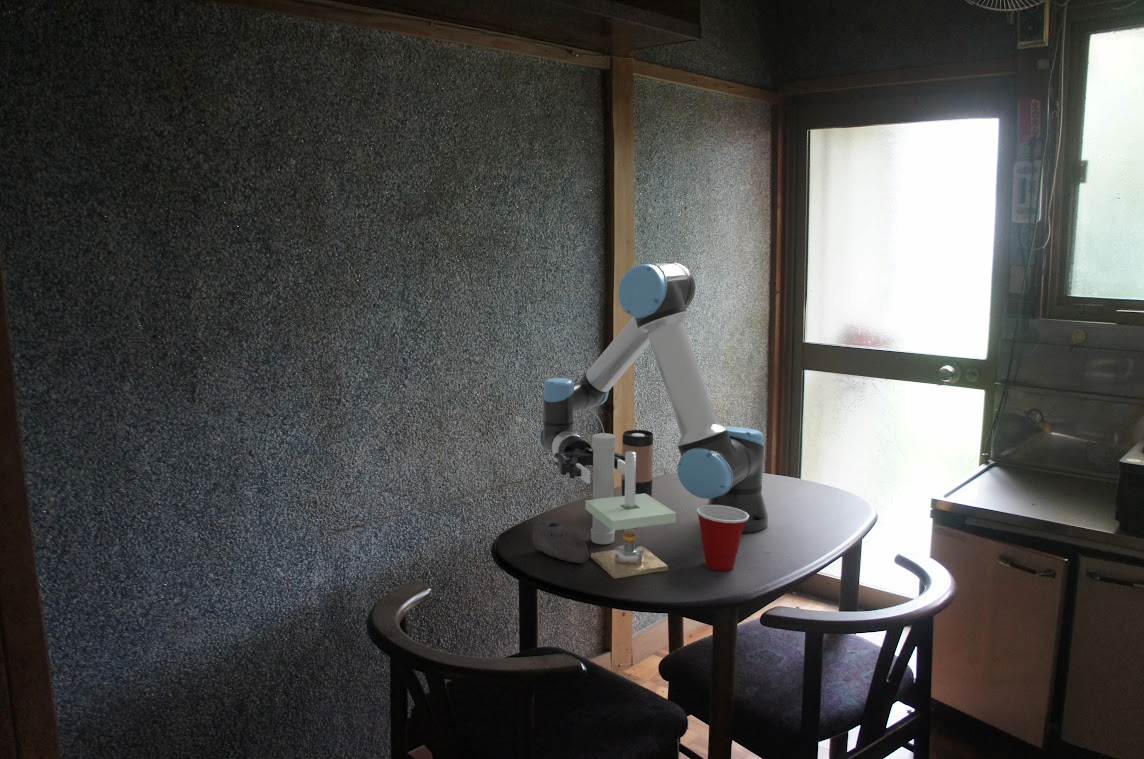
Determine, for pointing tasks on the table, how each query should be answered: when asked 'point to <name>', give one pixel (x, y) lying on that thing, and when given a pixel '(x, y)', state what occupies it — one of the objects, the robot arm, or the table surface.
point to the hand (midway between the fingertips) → (610, 474)
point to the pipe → (602, 480)
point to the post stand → (629, 539)
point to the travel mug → (640, 459)
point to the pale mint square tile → (630, 512)
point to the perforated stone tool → (559, 542)
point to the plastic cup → (721, 534)
